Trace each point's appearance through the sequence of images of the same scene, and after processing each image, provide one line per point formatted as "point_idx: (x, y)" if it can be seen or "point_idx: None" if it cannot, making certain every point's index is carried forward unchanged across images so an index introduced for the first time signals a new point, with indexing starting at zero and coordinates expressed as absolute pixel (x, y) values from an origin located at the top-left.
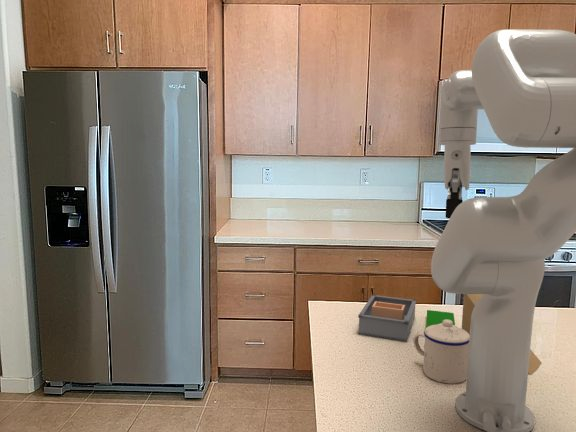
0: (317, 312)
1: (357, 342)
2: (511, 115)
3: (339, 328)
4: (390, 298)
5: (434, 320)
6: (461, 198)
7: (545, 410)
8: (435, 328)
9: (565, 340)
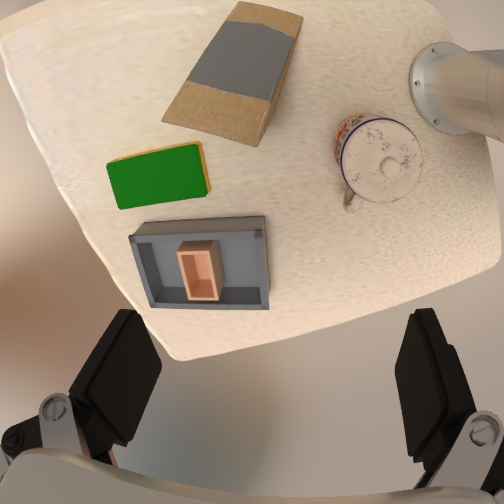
0: (214, 350)
1: (301, 282)
2: None
3: (259, 314)
4: (147, 279)
5: (164, 188)
6: (85, 389)
7: (411, 20)
8: (395, 187)
9: None
